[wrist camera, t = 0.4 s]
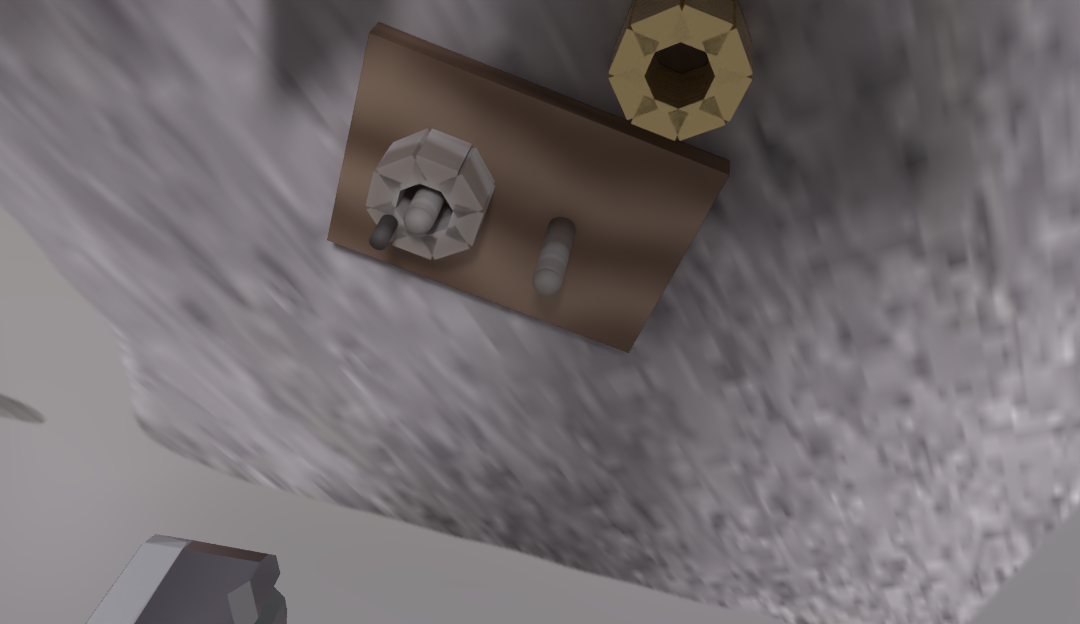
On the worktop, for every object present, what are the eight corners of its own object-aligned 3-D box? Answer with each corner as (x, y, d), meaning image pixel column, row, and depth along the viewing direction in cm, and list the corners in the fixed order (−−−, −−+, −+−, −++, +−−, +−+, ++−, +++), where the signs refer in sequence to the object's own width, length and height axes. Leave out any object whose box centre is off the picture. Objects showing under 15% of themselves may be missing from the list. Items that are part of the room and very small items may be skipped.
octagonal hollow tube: (650, -41, 40) (643, -13, 37) (770, 9, 41) (773, 40, 38) (603, 74, 44) (593, 108, 41) (712, 118, 45) (711, 155, 42)
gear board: (378, 22, 45) (328, 80, 39) (729, 161, 46) (729, 236, 41) (335, 226, 54) (289, 297, 48) (630, 337, 55) (619, 418, 50)
